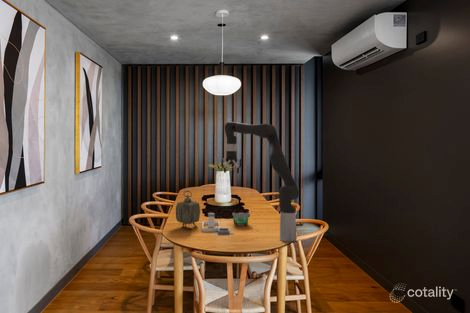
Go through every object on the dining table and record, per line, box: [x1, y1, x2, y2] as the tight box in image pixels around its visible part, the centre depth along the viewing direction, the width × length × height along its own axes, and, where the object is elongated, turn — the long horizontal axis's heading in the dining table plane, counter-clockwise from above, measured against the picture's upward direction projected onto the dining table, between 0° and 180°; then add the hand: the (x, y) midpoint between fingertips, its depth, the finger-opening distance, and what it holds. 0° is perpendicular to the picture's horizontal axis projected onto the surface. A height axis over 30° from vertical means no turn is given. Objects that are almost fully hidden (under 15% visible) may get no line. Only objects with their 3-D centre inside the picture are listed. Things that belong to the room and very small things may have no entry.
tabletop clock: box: [175, 190, 201, 229], centre depth 227 cm, size 14×9×25 cm, turn 59°
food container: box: [231, 212, 250, 227], centre depth 231 cm, size 12×6×10 cm, turn 101°
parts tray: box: [201, 220, 221, 233], centre depth 225 cm, size 12×18×3 cm, turn 4°
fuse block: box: [213, 227, 234, 236], centre depth 213 cm, size 12×8×3 cm, turn 94°
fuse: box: [207, 212, 215, 228], centre depth 224 cm, size 4×4×10 cm
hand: (231, 173), depth 239 cm, fingers open, 8 cm apart
